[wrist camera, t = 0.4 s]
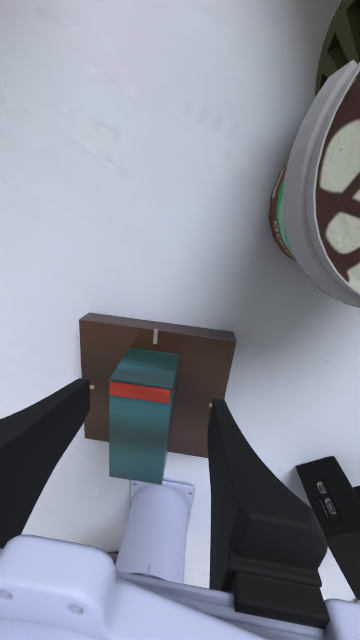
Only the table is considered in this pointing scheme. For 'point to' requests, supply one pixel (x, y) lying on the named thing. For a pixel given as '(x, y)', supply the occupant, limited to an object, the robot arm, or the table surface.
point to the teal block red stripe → (141, 414)
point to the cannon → (340, 42)
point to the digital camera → (336, 513)
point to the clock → (192, 378)
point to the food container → (324, 190)
